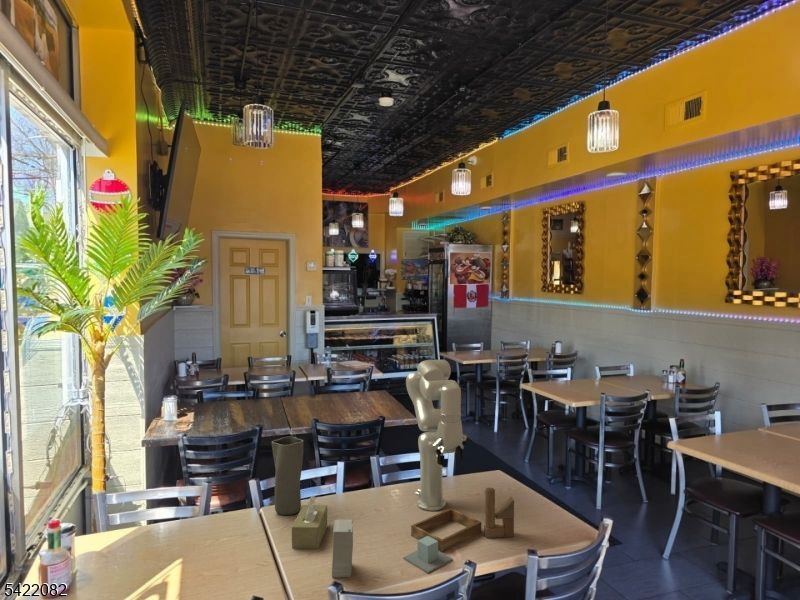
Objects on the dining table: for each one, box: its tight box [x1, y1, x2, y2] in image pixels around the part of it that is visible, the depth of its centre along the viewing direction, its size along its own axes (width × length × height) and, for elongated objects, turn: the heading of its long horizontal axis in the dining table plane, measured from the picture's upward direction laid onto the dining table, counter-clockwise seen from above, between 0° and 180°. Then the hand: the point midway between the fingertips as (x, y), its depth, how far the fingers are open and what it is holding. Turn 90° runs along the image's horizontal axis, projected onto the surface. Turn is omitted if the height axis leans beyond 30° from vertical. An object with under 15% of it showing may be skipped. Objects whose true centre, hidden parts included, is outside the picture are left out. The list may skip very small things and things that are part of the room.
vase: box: [271, 436, 304, 516], centre depth 214 cm, size 12×12×30 cm
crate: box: [410, 508, 482, 553], centre depth 194 cm, size 16×22×4 cm
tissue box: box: [291, 494, 328, 550], centre depth 193 cm, size 19×10×16 cm, turn 178°
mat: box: [402, 549, 453, 574], centre depth 176 cm, size 12×12×1 cm
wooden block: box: [483, 487, 515, 539], centre depth 193 cm, size 4×11×18 cm, turn 96°
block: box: [417, 536, 438, 563], centre depth 176 cm, size 5×5×6 cm
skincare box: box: [331, 519, 354, 578], centre depth 169 cm, size 8×7×16 cm
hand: (449, 461), depth 194 cm, fingers open, 9 cm apart
